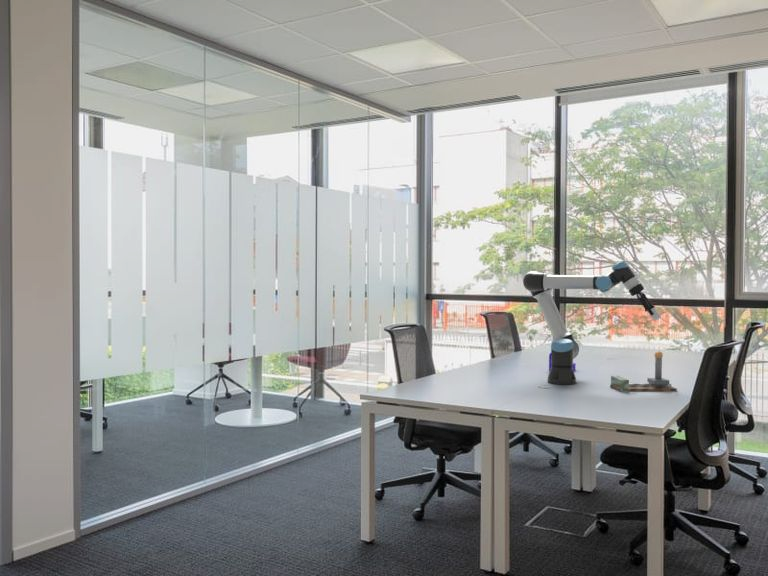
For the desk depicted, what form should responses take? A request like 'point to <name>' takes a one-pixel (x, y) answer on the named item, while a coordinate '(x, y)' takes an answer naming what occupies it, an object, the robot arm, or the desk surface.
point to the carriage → (658, 372)
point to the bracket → (550, 363)
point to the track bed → (636, 385)
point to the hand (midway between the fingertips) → (658, 319)
